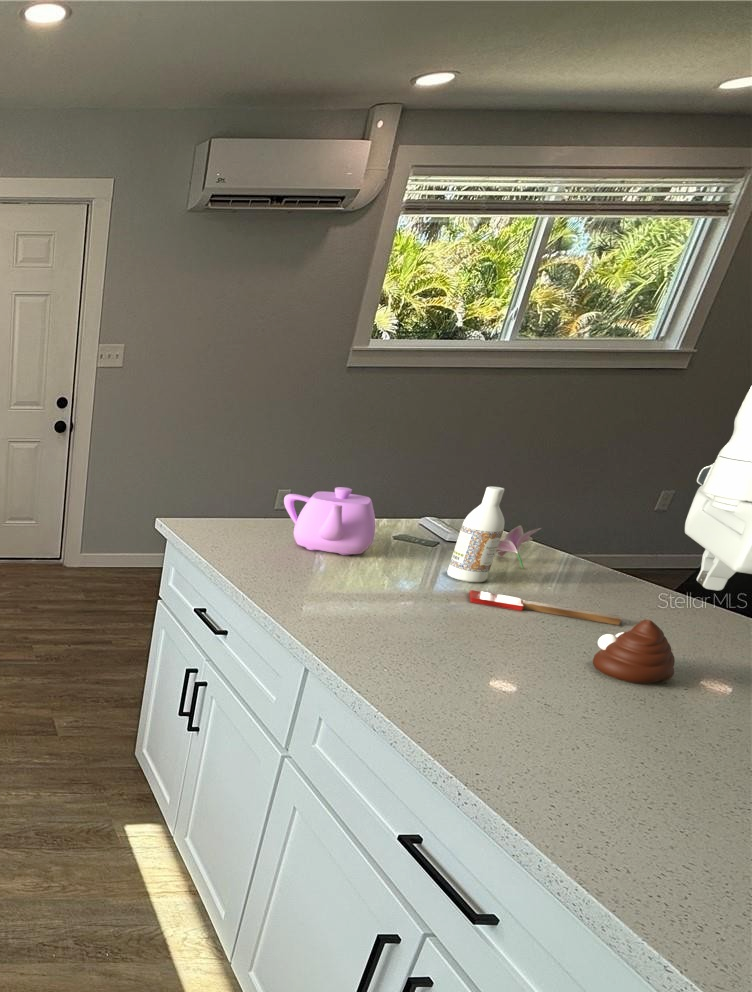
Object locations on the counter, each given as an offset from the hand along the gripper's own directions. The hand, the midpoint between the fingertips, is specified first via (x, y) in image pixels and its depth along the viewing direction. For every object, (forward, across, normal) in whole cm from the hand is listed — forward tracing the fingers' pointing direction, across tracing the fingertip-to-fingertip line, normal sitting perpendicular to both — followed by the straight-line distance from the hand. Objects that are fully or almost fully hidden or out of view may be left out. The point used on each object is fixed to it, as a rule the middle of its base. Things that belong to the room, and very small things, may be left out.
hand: (708, 586), depth 84 cm
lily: (+19, +67, +11) cm, 70 cm away
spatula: (+19, +36, +8) cm, 41 cm away
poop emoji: (+19, +12, 0) cm, 22 cm away
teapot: (+19, +57, +46) cm, 76 cm away
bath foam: (+19, +50, +19) cm, 57 cm away
